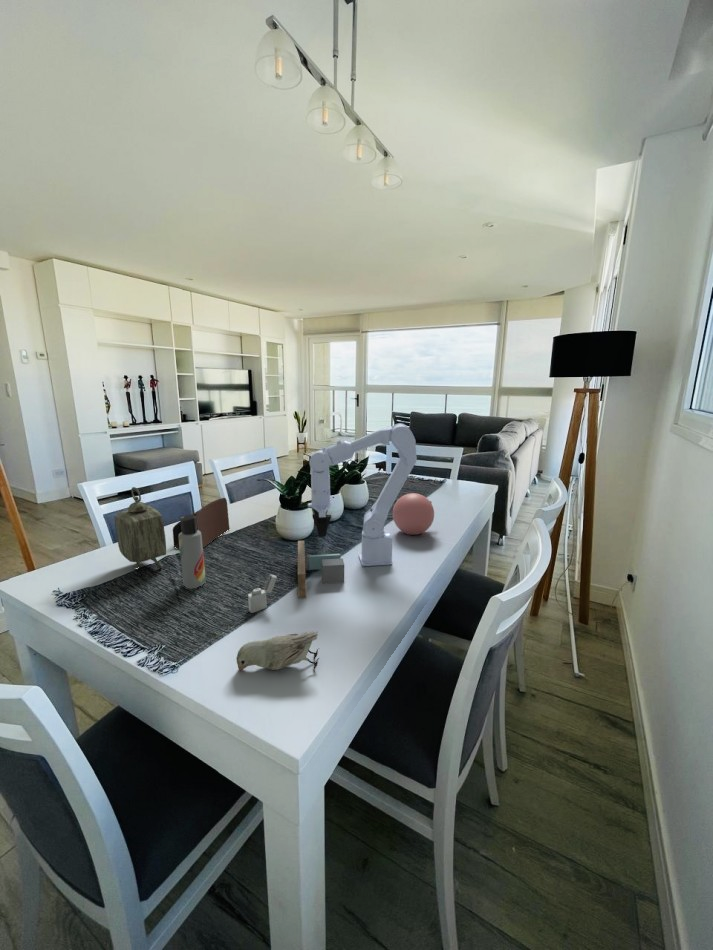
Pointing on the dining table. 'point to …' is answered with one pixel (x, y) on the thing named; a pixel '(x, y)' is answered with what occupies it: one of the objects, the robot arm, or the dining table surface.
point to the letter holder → (208, 522)
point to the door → (318, 560)
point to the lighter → (261, 595)
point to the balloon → (413, 513)
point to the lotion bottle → (191, 553)
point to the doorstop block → (333, 571)
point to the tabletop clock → (140, 532)
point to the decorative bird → (277, 651)
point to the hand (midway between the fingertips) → (321, 531)
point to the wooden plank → (301, 570)
